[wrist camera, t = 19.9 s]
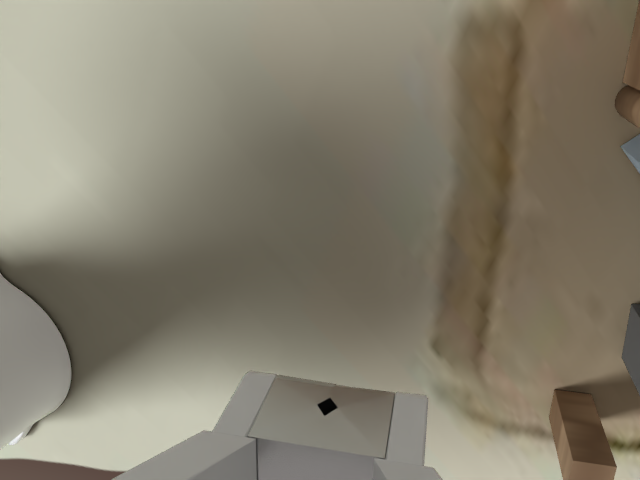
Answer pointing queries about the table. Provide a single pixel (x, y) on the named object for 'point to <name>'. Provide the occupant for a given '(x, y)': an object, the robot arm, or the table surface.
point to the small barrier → (578, 408)
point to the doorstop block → (633, 345)
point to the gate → (633, 151)
